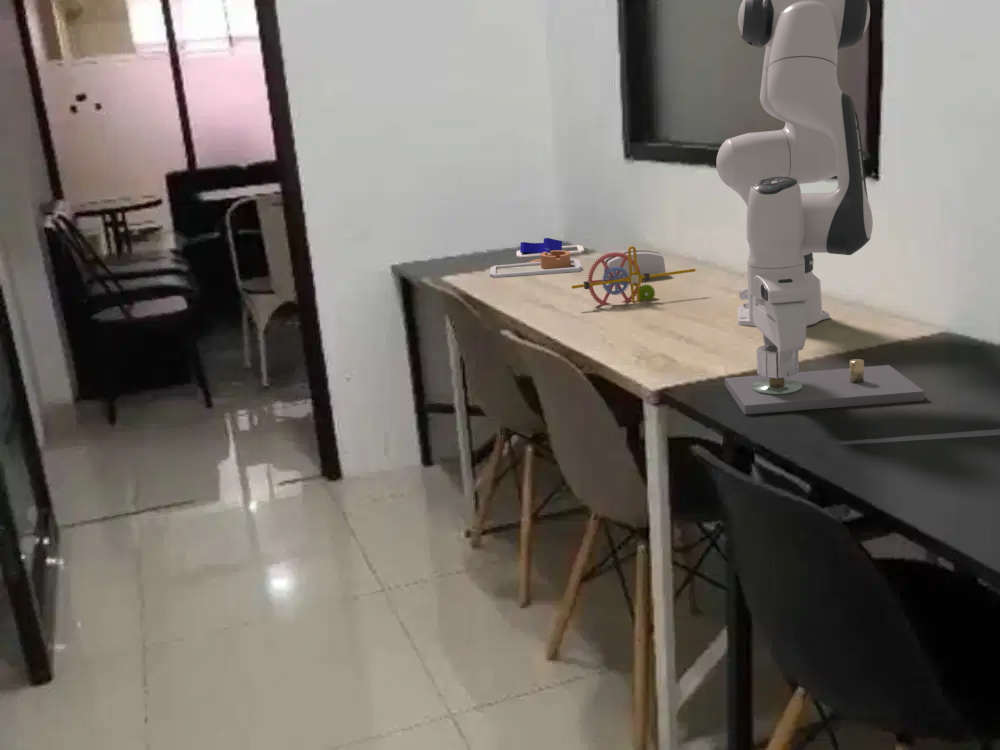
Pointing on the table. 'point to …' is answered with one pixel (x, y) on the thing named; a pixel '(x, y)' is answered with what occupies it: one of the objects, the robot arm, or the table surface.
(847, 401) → the board
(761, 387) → the post
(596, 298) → the mechanical gear assembly
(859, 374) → the stand rod
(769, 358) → the steel ring
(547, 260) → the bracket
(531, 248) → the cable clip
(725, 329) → the table surface
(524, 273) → the bin
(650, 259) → the grey rounded block
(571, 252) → the bin
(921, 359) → the table surface
